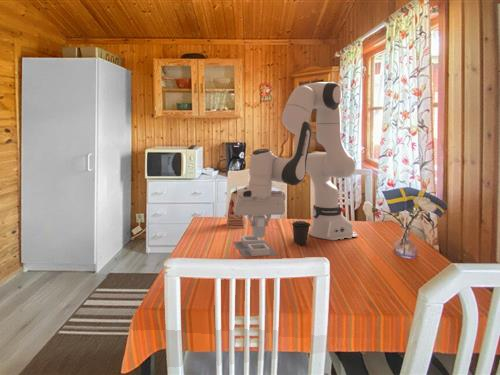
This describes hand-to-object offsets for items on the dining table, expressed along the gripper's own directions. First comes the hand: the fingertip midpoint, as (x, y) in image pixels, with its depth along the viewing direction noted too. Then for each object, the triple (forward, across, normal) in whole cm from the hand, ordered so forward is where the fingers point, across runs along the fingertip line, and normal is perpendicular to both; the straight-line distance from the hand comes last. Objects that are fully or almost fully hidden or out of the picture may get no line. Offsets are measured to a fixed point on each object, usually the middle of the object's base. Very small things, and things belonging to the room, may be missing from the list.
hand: (258, 225), depth 158 cm
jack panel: (+12, 0, -6) cm, 13 cm away
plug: (+4, 0, 0) cm, 4 cm away
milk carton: (+12, -1, -47) cm, 49 cm away
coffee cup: (+12, -22, -11) cm, 28 cm away
